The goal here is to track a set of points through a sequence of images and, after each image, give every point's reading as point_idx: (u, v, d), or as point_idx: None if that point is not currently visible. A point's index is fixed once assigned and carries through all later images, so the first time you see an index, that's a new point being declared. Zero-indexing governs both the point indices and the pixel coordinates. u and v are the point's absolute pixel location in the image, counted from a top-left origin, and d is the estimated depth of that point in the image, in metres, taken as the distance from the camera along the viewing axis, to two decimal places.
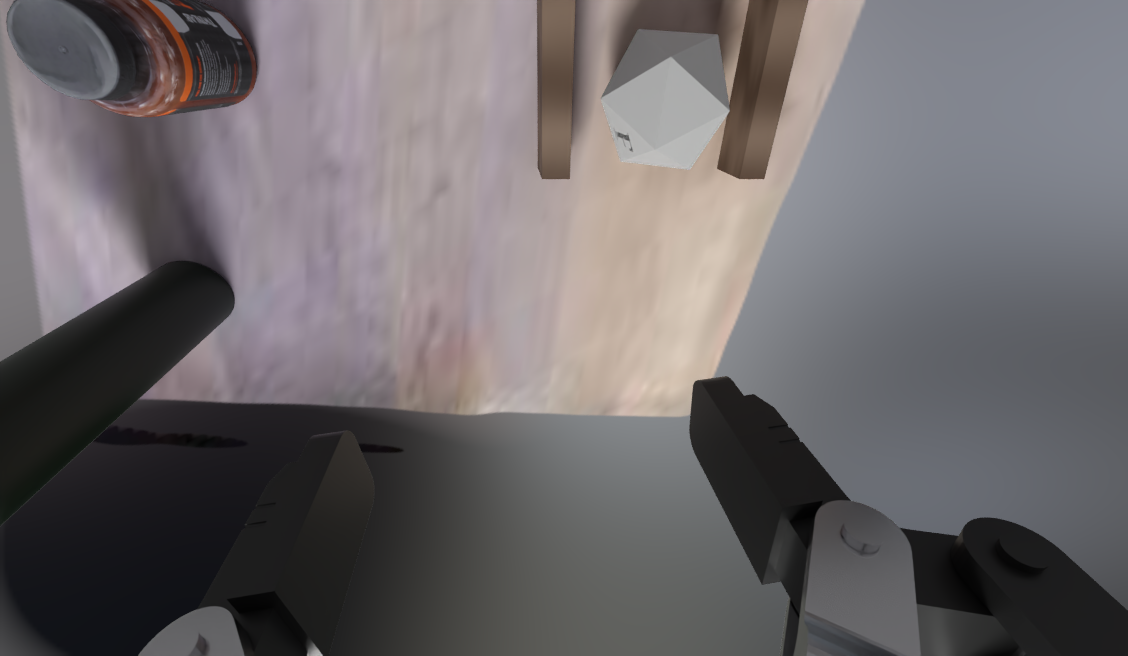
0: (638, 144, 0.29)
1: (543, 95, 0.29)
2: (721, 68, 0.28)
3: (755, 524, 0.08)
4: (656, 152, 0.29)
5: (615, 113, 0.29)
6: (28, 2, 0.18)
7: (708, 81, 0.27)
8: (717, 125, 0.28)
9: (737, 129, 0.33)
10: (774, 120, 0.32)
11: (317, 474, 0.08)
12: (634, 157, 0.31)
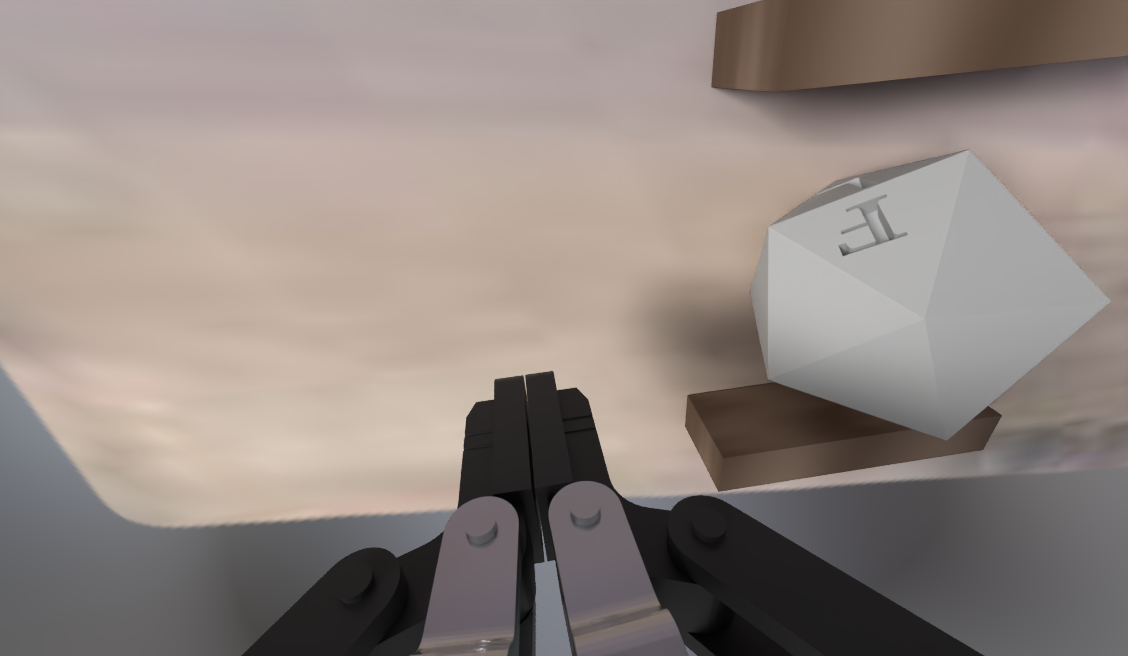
0: (892, 268, 0.11)
1: None
2: None
3: None
4: (892, 319, 0.11)
5: (951, 193, 0.11)
6: None
7: None
8: (907, 422, 0.13)
9: (775, 415, 0.19)
10: (811, 471, 0.19)
11: (517, 406, 0.10)
12: (819, 260, 0.13)
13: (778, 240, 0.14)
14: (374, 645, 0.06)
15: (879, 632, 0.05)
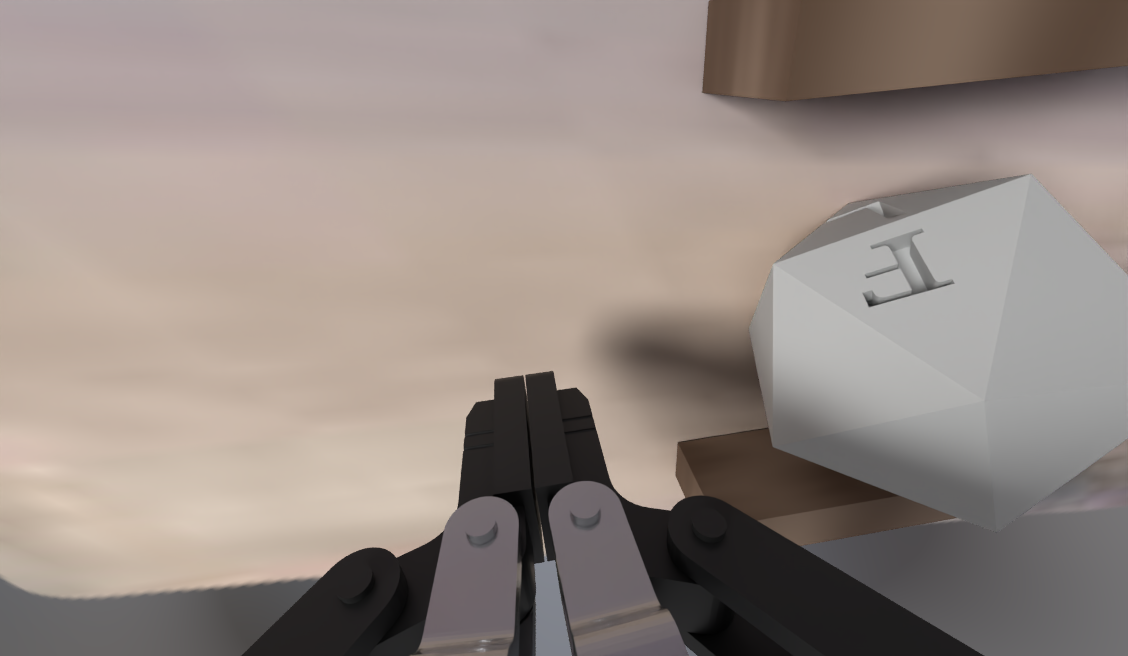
0: (935, 327, 0.09)
1: None
2: None
3: None
4: (937, 395, 0.09)
5: (1010, 231, 0.09)
6: None
7: None
8: (947, 509, 0.11)
9: (778, 469, 0.17)
10: (820, 537, 0.16)
11: (517, 406, 0.10)
12: (838, 311, 0.10)
13: (785, 281, 0.11)
14: (374, 645, 0.06)
15: (881, 632, 0.05)
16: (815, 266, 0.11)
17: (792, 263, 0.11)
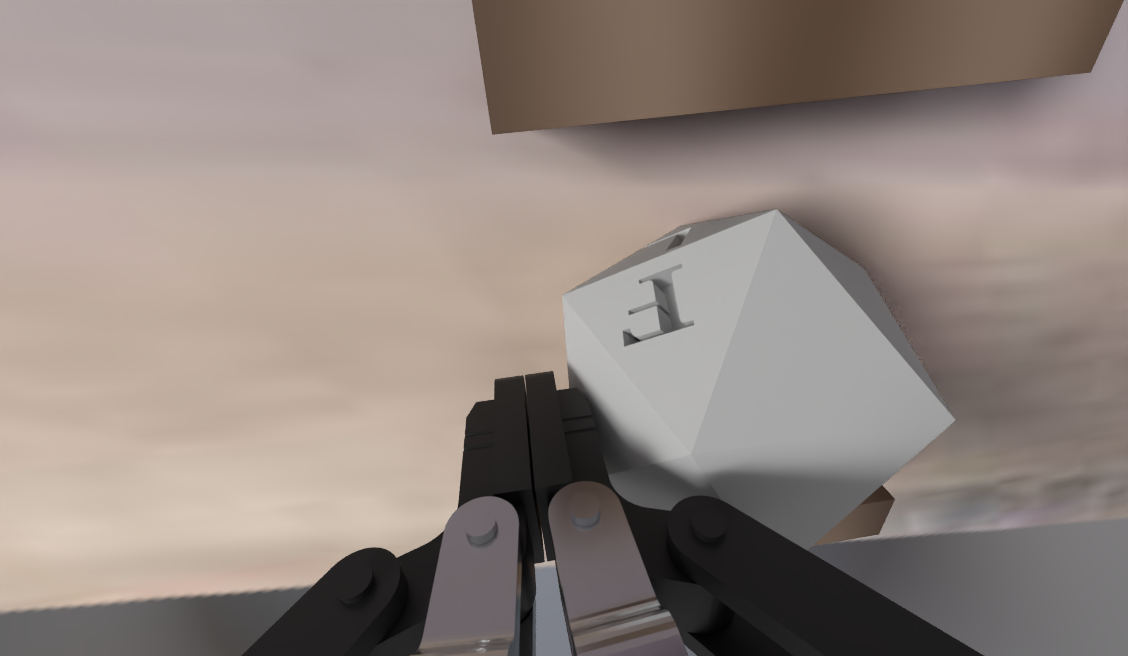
0: (670, 371, 0.08)
1: None
2: None
3: None
4: (664, 444, 0.08)
5: (748, 270, 0.08)
6: None
7: None
8: None
9: None
10: None
11: (518, 407, 0.10)
12: (601, 349, 0.10)
13: (570, 314, 0.11)
14: (374, 645, 0.06)
15: (881, 633, 0.05)
16: (593, 299, 0.10)
17: (577, 295, 0.11)
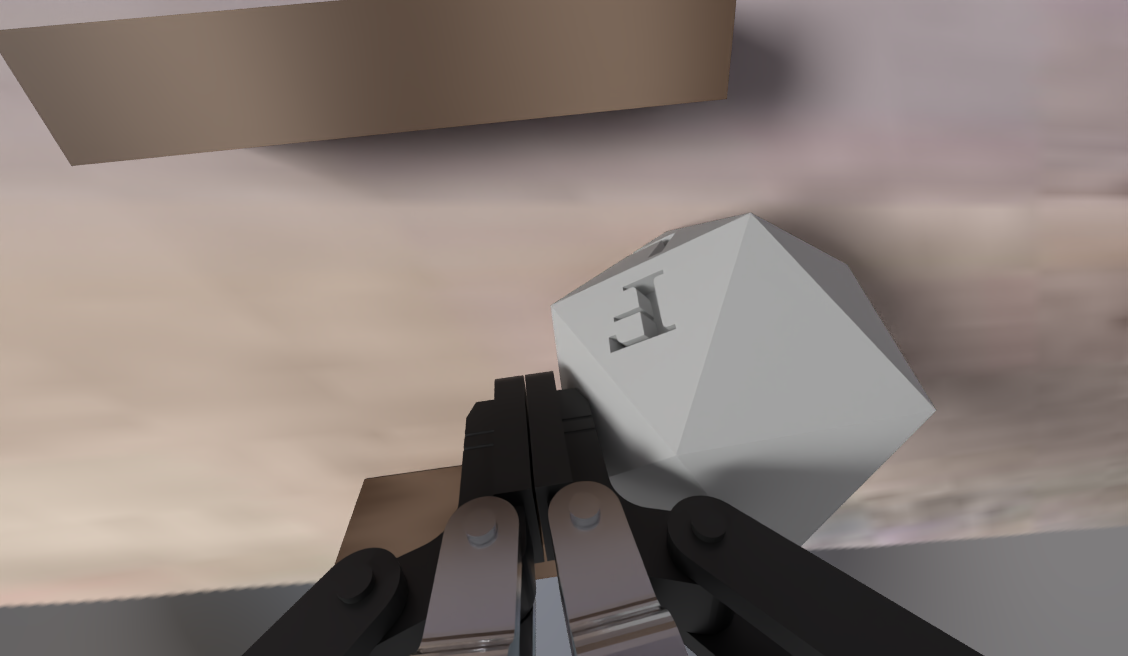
0: (654, 375, 0.09)
1: (336, 7, 0.07)
2: None
3: None
4: (652, 447, 0.08)
5: (725, 273, 0.09)
6: None
7: None
8: None
9: (436, 512, 0.16)
10: None
11: (518, 407, 0.10)
12: (589, 356, 0.10)
13: (559, 323, 0.11)
14: (374, 645, 0.06)
15: (880, 631, 0.05)
16: (580, 308, 0.11)
17: (564, 305, 0.11)
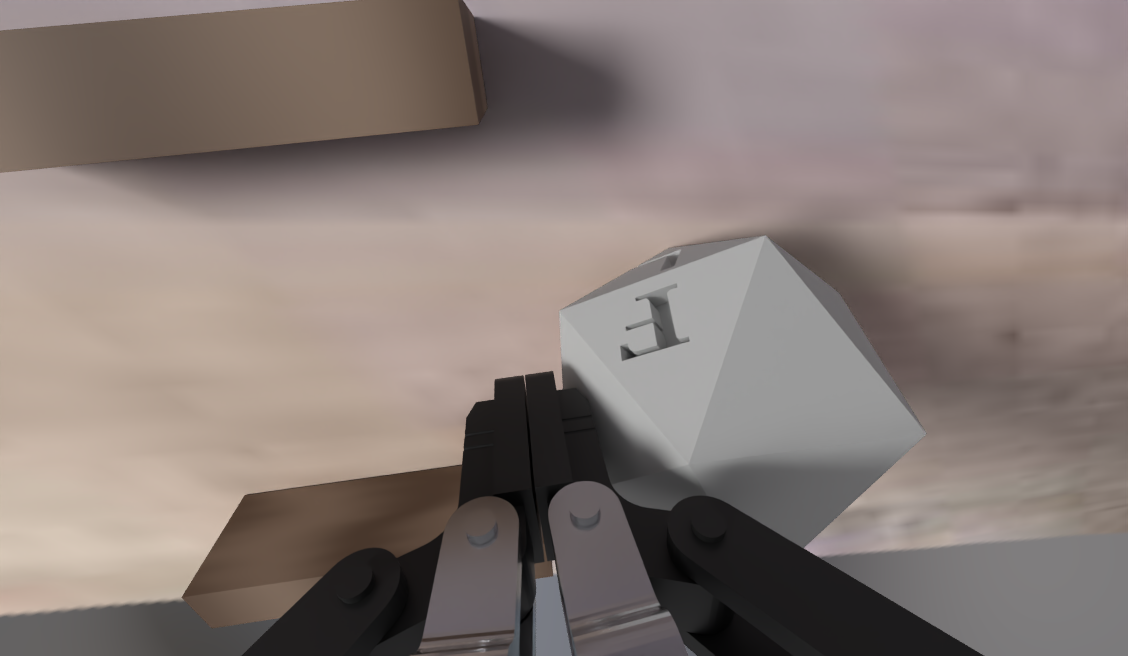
0: (667, 385, 0.09)
1: (31, 34, 0.07)
2: None
3: None
4: (662, 455, 0.09)
5: (740, 291, 0.09)
6: None
7: None
8: None
9: (305, 530, 0.16)
10: None
11: (518, 407, 0.10)
12: (599, 363, 0.10)
13: (567, 329, 0.11)
14: (374, 645, 0.06)
15: (879, 631, 0.05)
16: (590, 315, 0.11)
17: (574, 311, 0.11)
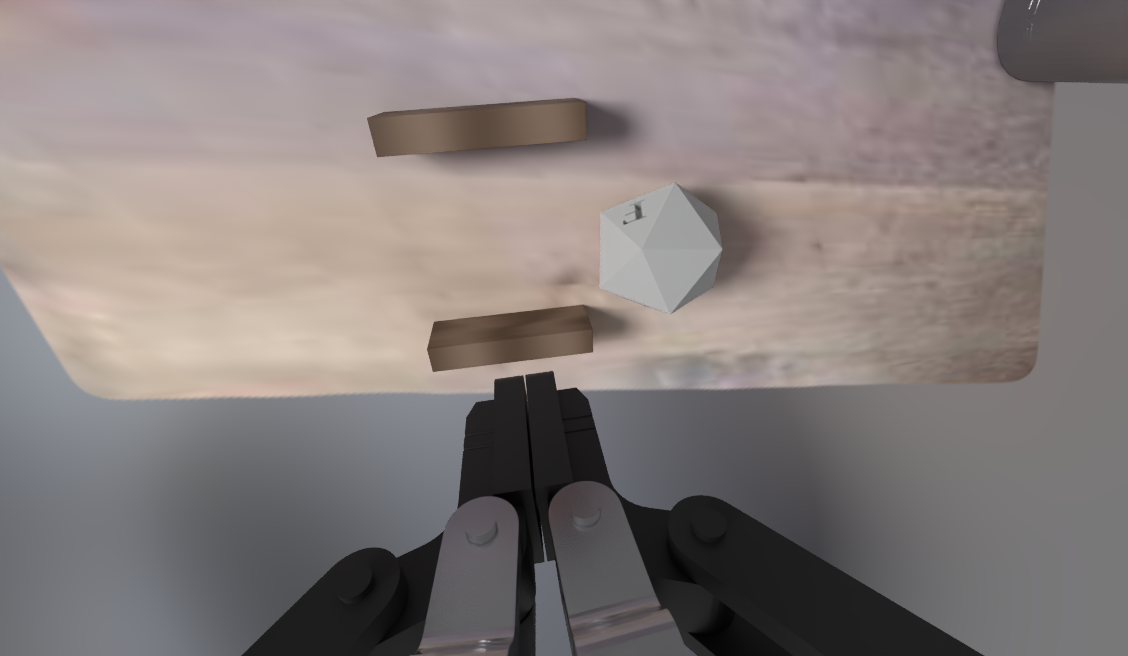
0: (637, 230, 0.27)
1: (466, 112, 0.24)
2: (695, 297, 0.30)
3: None
4: (634, 251, 0.27)
5: (664, 200, 0.27)
6: None
7: (694, 288, 0.28)
8: (654, 306, 0.29)
9: (473, 330, 0.33)
10: (487, 361, 0.33)
11: (518, 407, 0.10)
12: (615, 227, 0.28)
13: (603, 218, 0.29)
14: (374, 645, 0.06)
15: (880, 632, 0.05)
16: (612, 212, 0.29)
17: (606, 211, 0.29)
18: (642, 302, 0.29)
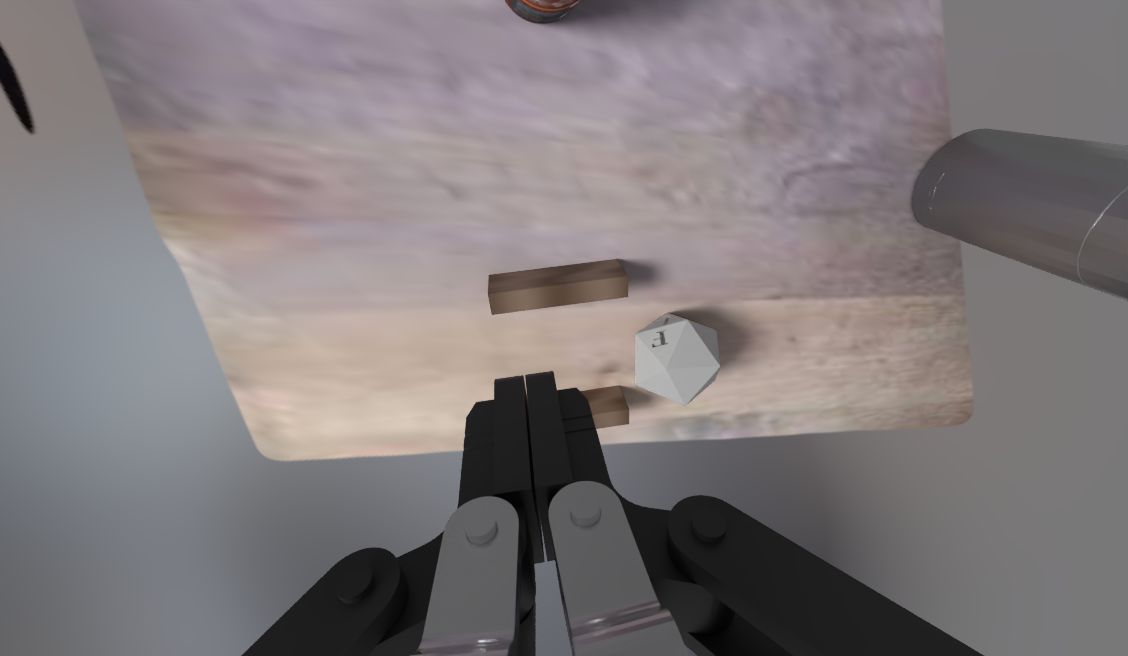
0: (662, 353, 0.40)
1: (550, 286, 0.37)
2: (702, 390, 0.43)
3: None
4: (660, 368, 0.39)
5: (680, 332, 0.40)
6: None
7: (701, 388, 0.41)
8: (674, 400, 0.42)
9: None
10: None
11: (517, 407, 0.10)
12: (646, 348, 0.41)
13: (637, 338, 0.42)
14: (374, 645, 0.06)
15: (879, 632, 0.05)
16: (644, 335, 0.42)
17: (639, 334, 0.42)
18: (665, 397, 0.42)
